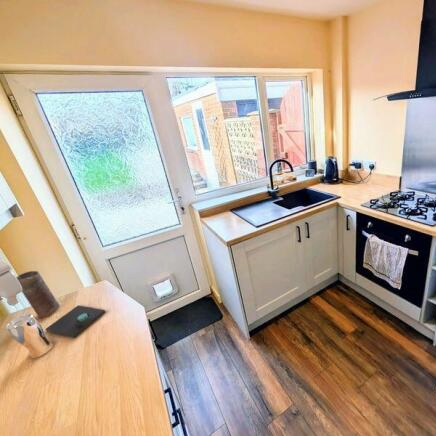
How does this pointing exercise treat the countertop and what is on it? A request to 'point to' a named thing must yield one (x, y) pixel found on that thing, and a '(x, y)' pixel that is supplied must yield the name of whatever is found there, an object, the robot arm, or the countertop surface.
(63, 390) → the countertop surface
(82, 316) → the button
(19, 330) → the beer glass
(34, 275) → the candle
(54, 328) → the scale
